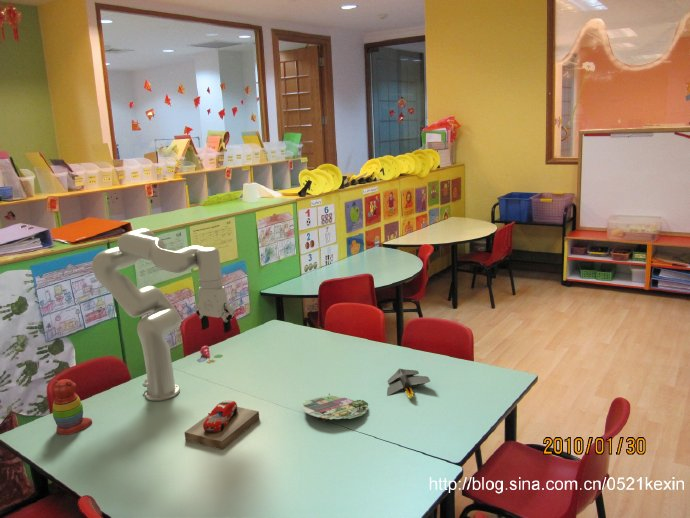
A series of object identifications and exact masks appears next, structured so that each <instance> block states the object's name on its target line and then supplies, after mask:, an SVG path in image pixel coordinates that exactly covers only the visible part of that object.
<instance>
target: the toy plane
mask: <svg viewBox="0 0 690 518" xmlns="http://www.w3.org/2000/svg"><path fill="white" fill-rule="evenodd" d="M430 382H431V379H430V377H429V376H425V375H419V371H418V370H416V369H406V368H405V369H404V368H398V369H397V370H396V372H394V374H393V375H392V376H390V378H388V380H387V383H388V385H389V384H390V385H389V386H388V387H387V390H386V397H389V396H392V395H395V394H398V393H400V392H402V391H404V392H405V394H406V395H407V397H408V398H409V399H412V398H415V396H414V392H413V388H415V387H418V386H421V385H424V384H428V383H430Z"/></svg>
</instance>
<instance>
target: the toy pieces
mask: <svg viewBox="0 0 690 518" xmlns="http://www.w3.org/2000/svg"><path fill="white" fill-rule="evenodd" d="M199 353H200V355H202V356H203V357H201V358H198V359H197V360H196V361H197V362H198V363H203V362H205V361H206V362H205V363H207V364H214V363H215V362H216V361H217V360H215V359H220V358H223V356H224V355H223V354H219V353H218V354H215V355H214V356H213V359H211V356H210V355H211V354H210V347H209V346H208V345H204V346H201V348H200V350H199ZM207 359H208V360H207Z"/></svg>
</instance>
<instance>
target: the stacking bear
mask: <svg viewBox="0 0 690 518" xmlns="http://www.w3.org/2000/svg"><path fill="white" fill-rule="evenodd" d="M76 389H77V384H76V383H75V382H74V381H72V380H71V379H67V378H65V379H64V378H63V379H60V380H57V379H56V380H54V381H53V394H54V395H55V398H54V400H53V404H52V417H53V420H54V421H55V424H56V433H57V434H59V435H63V436H64V435H70V434H71V435H72V434H74V433H78V432H80V431H82V430H85V429H86V428H87V427H90V425H92V424H93V420H92V418H89V417H83V415H84V406H83V402H82V401H81V398H80V396H79V395H78V393H76Z"/></svg>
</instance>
